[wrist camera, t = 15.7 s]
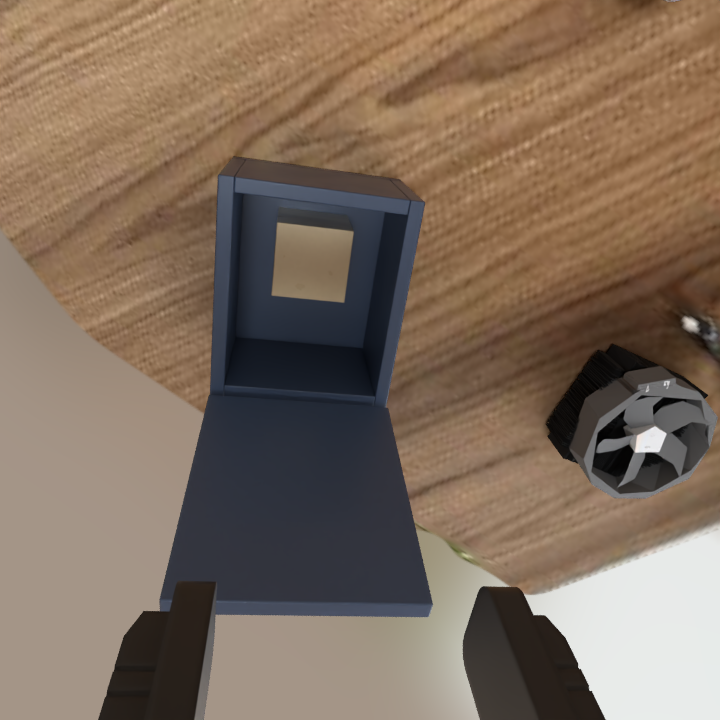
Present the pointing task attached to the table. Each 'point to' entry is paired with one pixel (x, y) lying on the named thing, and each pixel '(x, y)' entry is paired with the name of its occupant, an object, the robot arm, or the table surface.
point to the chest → (305, 316)
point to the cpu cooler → (632, 425)
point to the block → (312, 255)
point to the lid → (299, 513)
